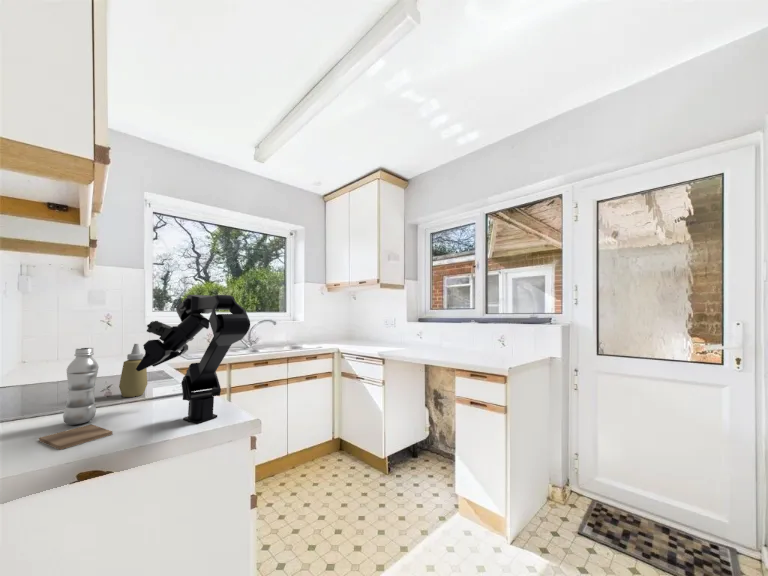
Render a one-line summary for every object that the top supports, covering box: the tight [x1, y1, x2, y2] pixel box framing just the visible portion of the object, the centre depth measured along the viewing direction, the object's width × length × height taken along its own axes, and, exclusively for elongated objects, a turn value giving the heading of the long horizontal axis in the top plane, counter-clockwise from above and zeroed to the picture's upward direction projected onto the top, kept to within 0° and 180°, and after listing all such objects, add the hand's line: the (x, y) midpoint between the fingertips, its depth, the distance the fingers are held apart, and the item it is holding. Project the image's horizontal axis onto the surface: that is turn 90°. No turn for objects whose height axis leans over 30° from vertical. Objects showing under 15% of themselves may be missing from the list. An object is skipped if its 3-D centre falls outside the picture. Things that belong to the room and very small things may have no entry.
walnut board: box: [38, 424, 113, 451], centre depth 80 cm, size 10×10×1 cm
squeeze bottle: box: [118, 343, 148, 398], centre depth 117 cm, size 8×8×18 cm
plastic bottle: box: [62, 347, 100, 426], centre depth 90 cm, size 6×7×20 cm
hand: (145, 367), depth 100 cm, fingers open, 9 cm apart
